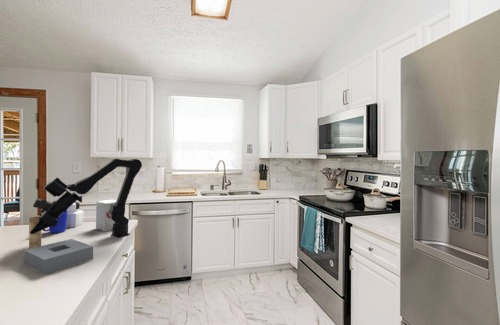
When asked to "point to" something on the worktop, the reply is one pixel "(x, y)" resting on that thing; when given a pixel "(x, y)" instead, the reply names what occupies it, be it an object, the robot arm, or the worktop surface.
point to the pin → (36, 237)
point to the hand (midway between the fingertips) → (30, 232)
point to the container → (74, 215)
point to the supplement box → (104, 215)
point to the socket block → (57, 255)
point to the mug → (59, 224)
